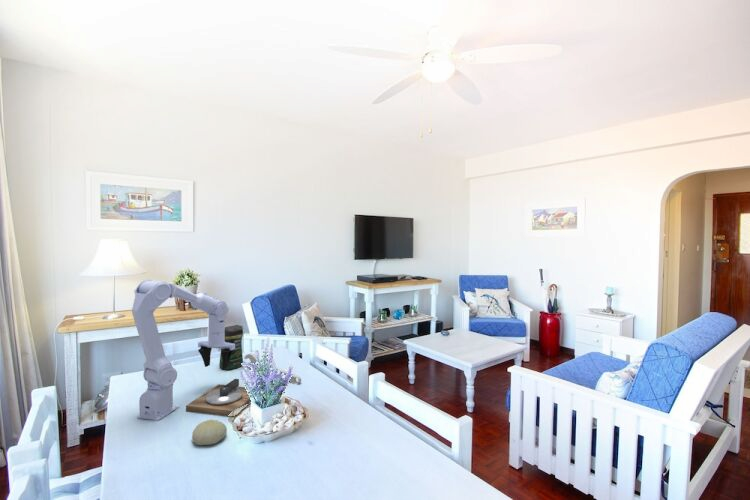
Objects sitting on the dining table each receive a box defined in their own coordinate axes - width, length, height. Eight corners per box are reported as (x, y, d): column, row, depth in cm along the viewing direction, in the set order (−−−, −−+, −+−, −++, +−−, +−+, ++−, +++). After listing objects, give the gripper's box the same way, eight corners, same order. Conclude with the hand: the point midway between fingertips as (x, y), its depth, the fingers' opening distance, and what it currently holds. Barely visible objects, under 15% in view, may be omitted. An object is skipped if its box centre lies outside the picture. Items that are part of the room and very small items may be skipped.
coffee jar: (226, 372, 158) (226, 329, 157) (216, 367, 162) (216, 326, 162) (246, 365, 165) (246, 325, 165) (235, 362, 170) (236, 322, 169)
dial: (229, 406, 121) (229, 396, 121) (197, 403, 123) (197, 393, 123) (251, 389, 135) (251, 380, 135) (222, 386, 137) (222, 377, 137)
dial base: (234, 417, 119) (234, 410, 118) (185, 411, 122) (185, 404, 122) (261, 394, 136) (261, 388, 136) (218, 389, 140) (218, 383, 139)
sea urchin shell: (217, 420, 113) (225, 408, 109) (225, 445, 109) (233, 434, 105) (186, 430, 106) (192, 418, 102) (192, 457, 103) (199, 446, 98)
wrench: (297, 391, 146) (242, 370, 159) (300, 390, 147) (246, 368, 160) (299, 372, 145) (244, 352, 158) (302, 371, 147) (247, 351, 160)
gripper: (239, 330, 142) (239, 365, 142) (206, 327, 144) (206, 361, 145) (229, 335, 135) (228, 371, 135) (194, 332, 137) (194, 367, 138)
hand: (216, 366), depth 139 cm, fingers open, 7 cm apart
